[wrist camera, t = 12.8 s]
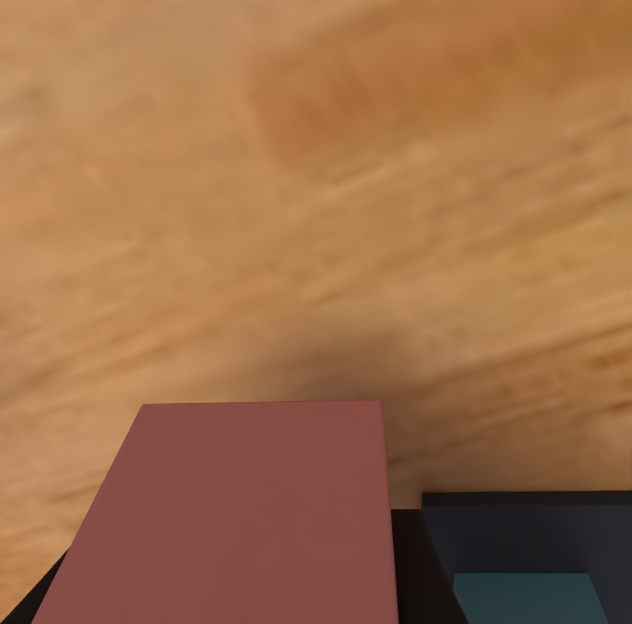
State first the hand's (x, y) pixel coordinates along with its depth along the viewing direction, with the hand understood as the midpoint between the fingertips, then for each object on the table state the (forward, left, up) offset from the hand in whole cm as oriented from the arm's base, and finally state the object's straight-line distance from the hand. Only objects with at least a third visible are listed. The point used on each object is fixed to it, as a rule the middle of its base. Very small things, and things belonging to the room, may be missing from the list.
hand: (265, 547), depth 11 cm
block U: (0, 0, -1) cm, 1 cm away
